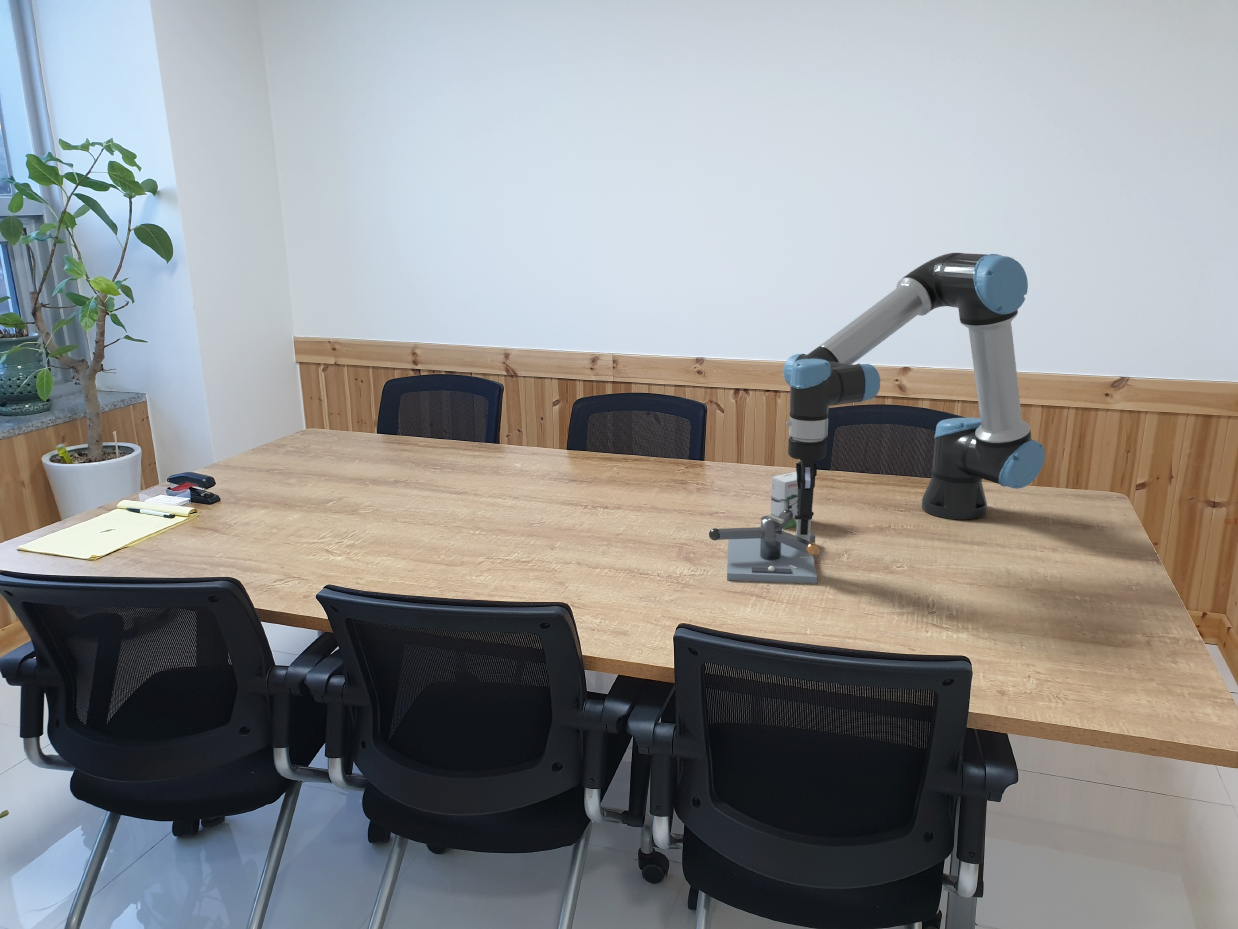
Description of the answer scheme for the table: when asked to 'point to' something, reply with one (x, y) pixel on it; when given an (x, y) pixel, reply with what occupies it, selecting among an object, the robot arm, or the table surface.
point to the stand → (769, 563)
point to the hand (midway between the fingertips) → (802, 547)
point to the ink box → (785, 496)
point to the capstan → (768, 536)
